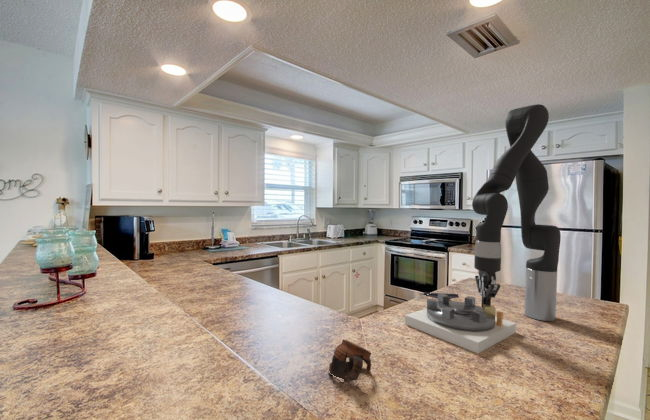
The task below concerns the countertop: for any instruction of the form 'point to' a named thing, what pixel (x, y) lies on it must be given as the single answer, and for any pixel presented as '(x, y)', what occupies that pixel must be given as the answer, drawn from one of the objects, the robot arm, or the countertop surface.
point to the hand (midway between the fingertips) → (485, 308)
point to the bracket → (441, 293)
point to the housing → (465, 339)
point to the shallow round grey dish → (461, 314)
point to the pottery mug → (355, 360)
